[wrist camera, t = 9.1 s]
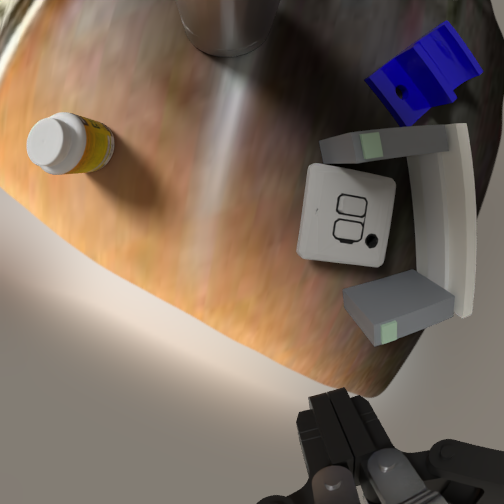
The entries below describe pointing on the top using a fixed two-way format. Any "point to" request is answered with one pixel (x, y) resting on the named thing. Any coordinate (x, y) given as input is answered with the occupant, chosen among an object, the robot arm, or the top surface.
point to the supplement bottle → (70, 144)
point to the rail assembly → (419, 229)
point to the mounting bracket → (424, 74)
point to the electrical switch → (345, 216)
